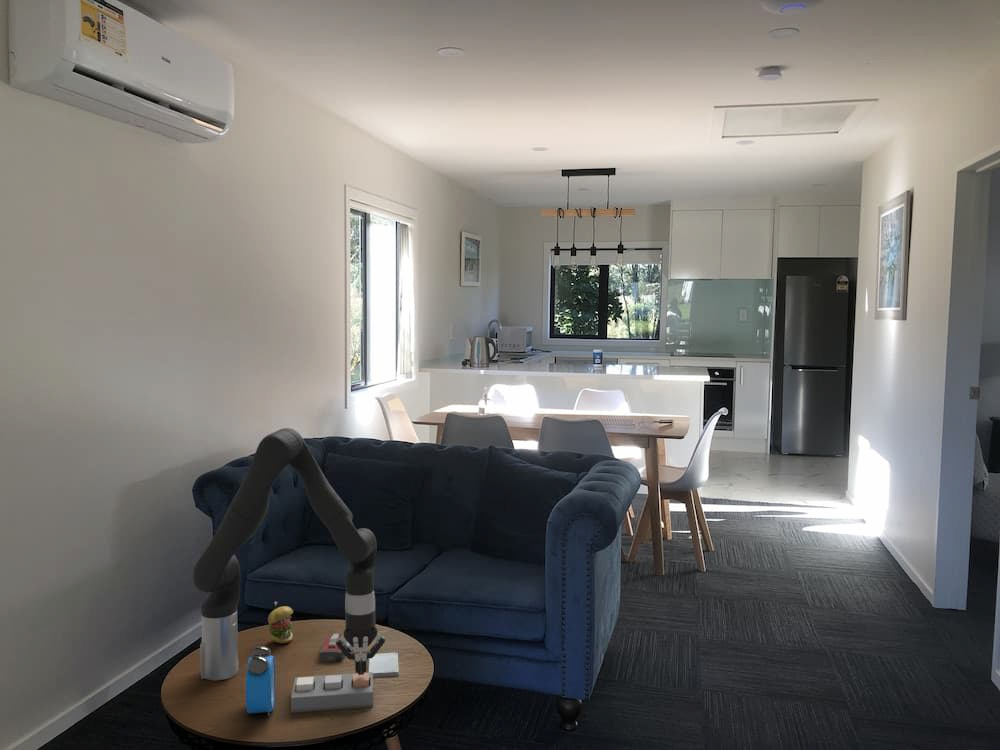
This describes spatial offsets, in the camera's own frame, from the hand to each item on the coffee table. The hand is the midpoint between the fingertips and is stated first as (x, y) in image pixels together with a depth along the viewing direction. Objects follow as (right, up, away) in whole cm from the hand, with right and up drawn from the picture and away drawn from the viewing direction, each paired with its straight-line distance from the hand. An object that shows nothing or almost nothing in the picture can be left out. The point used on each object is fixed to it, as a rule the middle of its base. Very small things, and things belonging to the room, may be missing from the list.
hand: (361, 673), depth 206 cm
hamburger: (-30, -3, +34) cm, 46 cm away
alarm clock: (-24, -7, -6) cm, 26 cm away
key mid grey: (-7, -4, -1) cm, 8 cm away
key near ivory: (-14, -4, -2) cm, 15 cm away
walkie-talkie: (-11, -4, +30) cm, 32 cm away
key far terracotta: (0, -4, 0) cm, 4 cm away
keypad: (-7, -6, 0) cm, 9 cm away
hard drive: (+3, -6, +18) cm, 19 cm away
